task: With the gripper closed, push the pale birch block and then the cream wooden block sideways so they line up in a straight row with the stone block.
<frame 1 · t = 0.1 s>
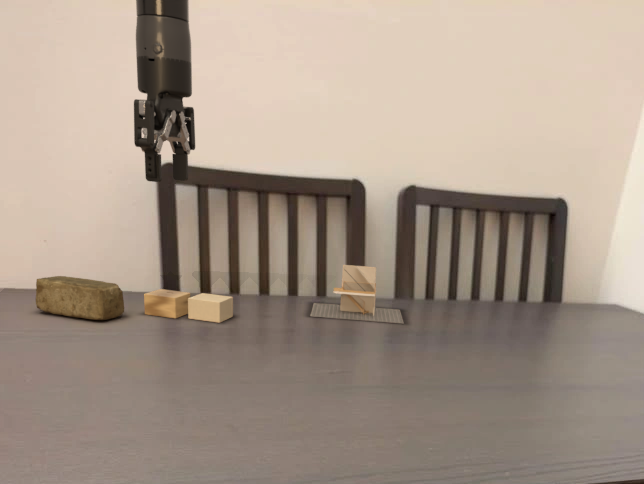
hand: (167, 180, 109), 18 cm above the table, tool pointing down, fingers open, 8 cm apart
cream block: (210, 317, 109), on the table
birch block: (168, 313, 110), on the table
stone block: (81, 316, 104), on the table
architectural model: (356, 314, 121), on the table
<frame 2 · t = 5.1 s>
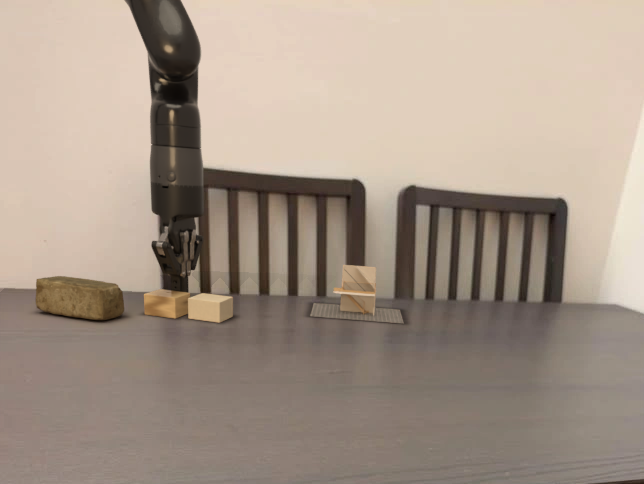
hand: (180, 300, 113), 1 cm above the table, tool pointing down, fingers closed
birch block: (167, 313, 110), on the table, touching gripper
everything else where it was.
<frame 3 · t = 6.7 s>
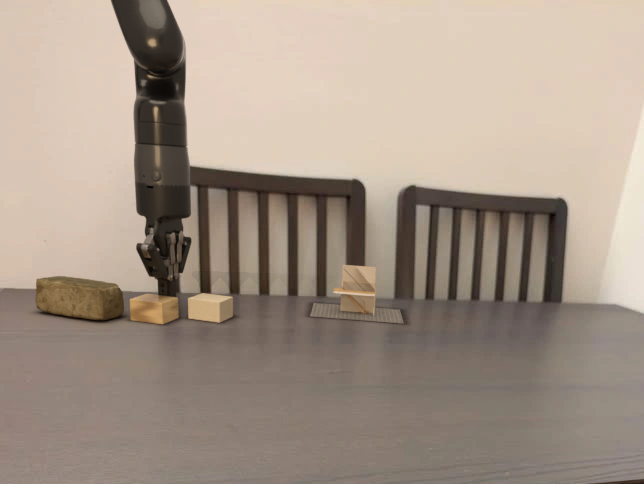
hand: (167, 305, 109), 1 cm above the table, tool pointing down, fingers closed
birch block: (155, 319, 106), on the table, touching gripper
everything else where it was.
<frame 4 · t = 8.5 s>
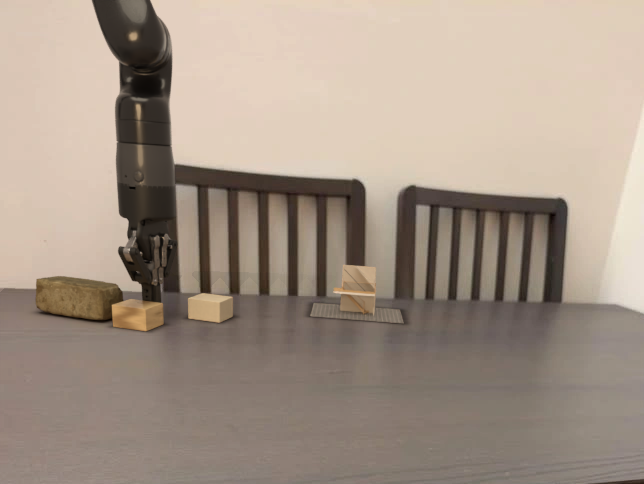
hand: (152, 310, 105), 1 cm above the table, tool pointing down, fingers closed
birch block: (138, 325, 101), on the table, touching gripper
everything else where it was.
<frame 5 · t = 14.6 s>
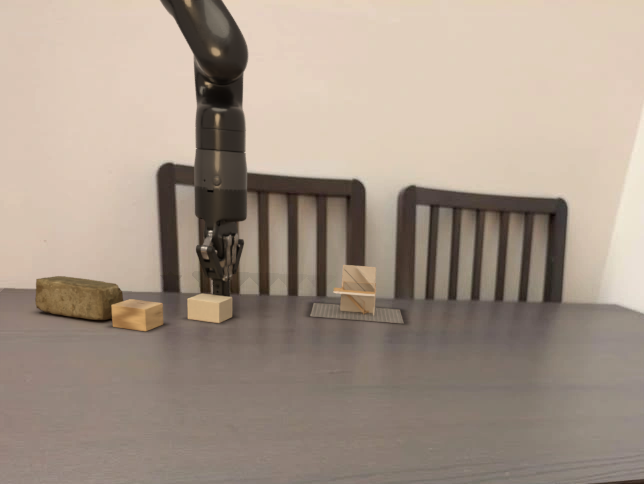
hand: (221, 305, 113), 1 cm above the table, tool pointing down, fingers closed
cream block: (210, 318, 109), on the table, touching gripper
birch block: (138, 325, 101), on the table
everything else where it was.
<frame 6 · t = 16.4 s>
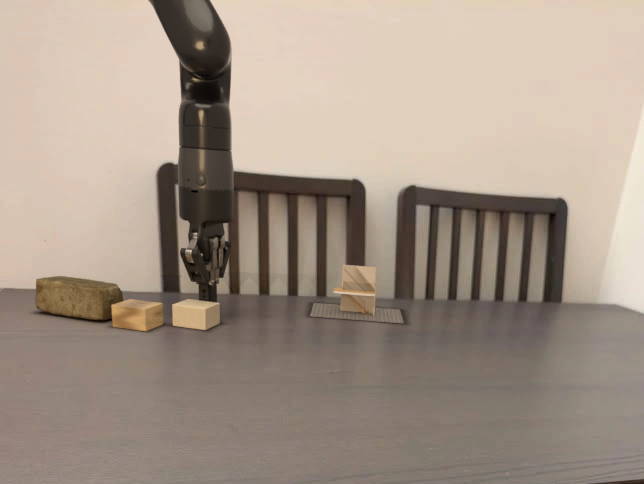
hand: (208, 310, 108), 1 cm above the table, tool pointing down, fingers closed
cream block: (196, 324, 105), on the table, touching gripper
everything else where it was.
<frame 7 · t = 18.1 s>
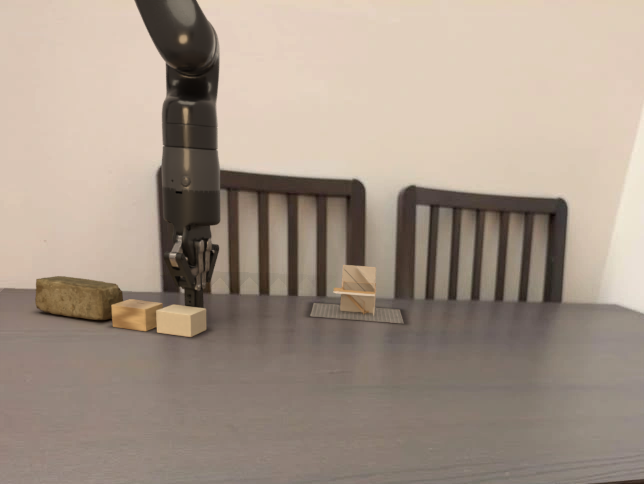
hand: (194, 316, 104), 1 cm above the table, tool pointing down, fingers closed
cream block: (182, 331, 100), on the table, touching gripper
everything else where it was.
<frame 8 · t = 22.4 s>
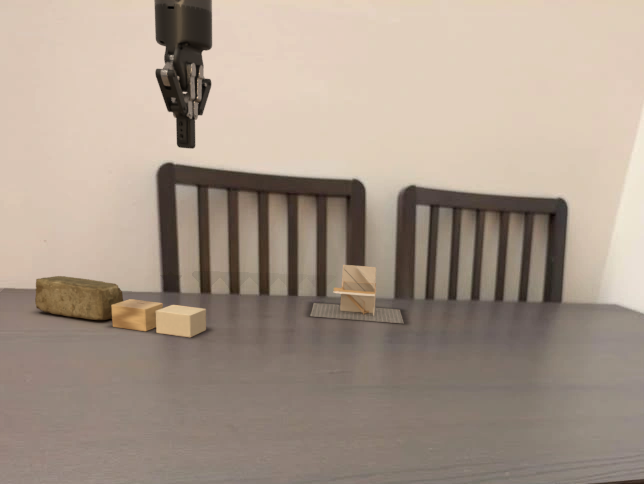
hand: (186, 147, 105), 23 cm above the table, tool pointing down, fingers closed
cream block: (181, 331, 100), on the table
everything else where it was.
at the end: birch block 1.8 cm from the target spot, on the table; cream block 1.8 cm from the target spot, on the table; stone block moved 0.2 cm from its start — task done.
